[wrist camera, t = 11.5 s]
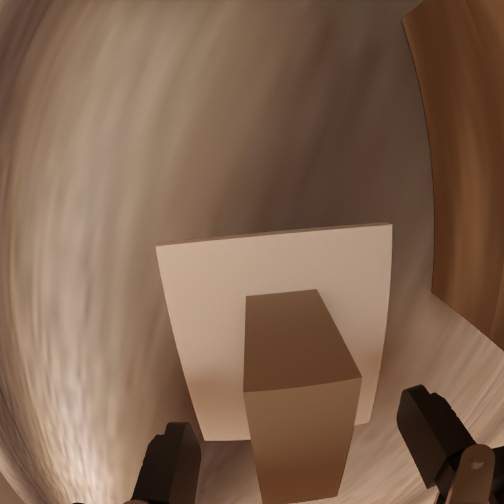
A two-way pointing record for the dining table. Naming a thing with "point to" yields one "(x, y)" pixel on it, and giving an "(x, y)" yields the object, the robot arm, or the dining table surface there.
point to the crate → (465, 151)
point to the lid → (282, 344)
